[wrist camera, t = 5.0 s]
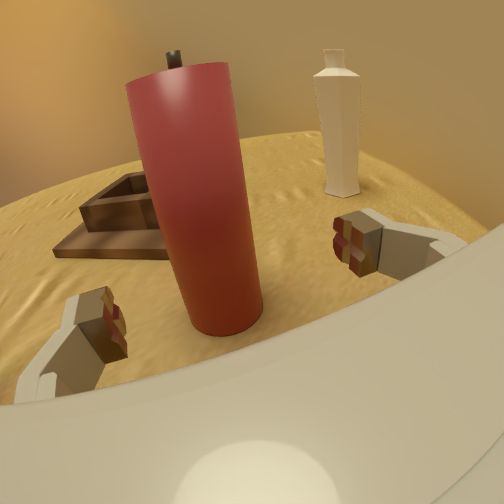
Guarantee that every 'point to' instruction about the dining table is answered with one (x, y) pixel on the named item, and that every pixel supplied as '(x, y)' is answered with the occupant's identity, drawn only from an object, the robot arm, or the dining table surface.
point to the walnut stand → (117, 224)
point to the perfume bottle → (339, 123)
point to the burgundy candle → (199, 190)
